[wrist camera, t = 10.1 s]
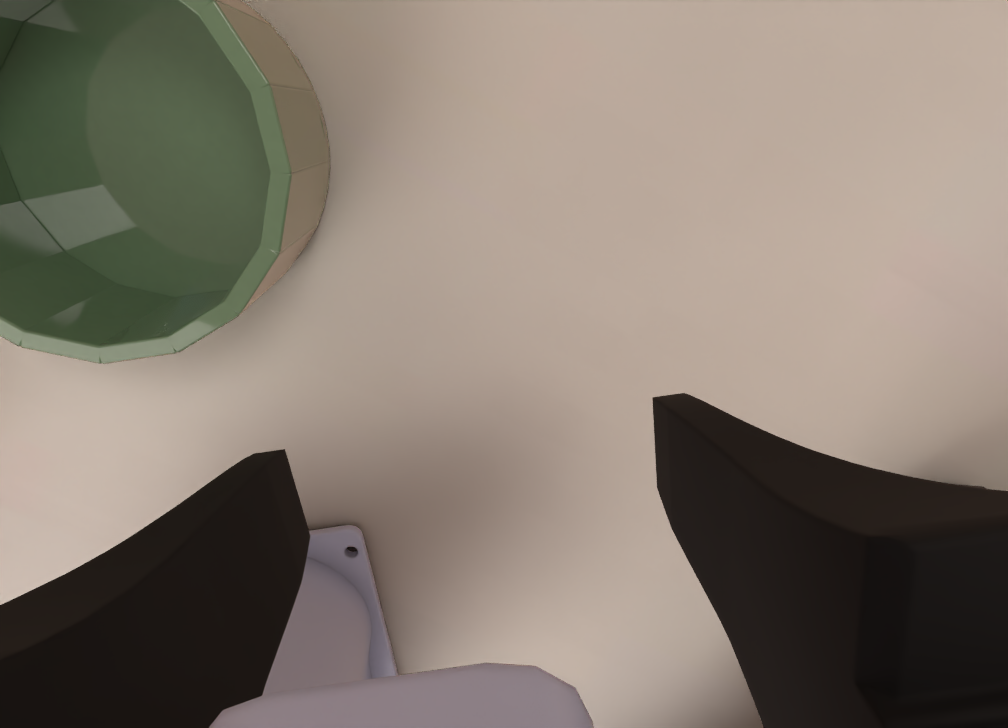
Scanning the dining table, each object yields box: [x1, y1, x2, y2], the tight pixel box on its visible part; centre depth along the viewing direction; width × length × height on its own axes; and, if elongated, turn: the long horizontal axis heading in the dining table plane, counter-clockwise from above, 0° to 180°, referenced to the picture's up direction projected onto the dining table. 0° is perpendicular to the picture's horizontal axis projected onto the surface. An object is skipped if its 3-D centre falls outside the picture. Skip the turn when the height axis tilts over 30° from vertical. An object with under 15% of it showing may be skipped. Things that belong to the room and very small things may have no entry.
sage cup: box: [0, 0, 330, 364], centre depth 17 cm, size 10×10×5 cm
